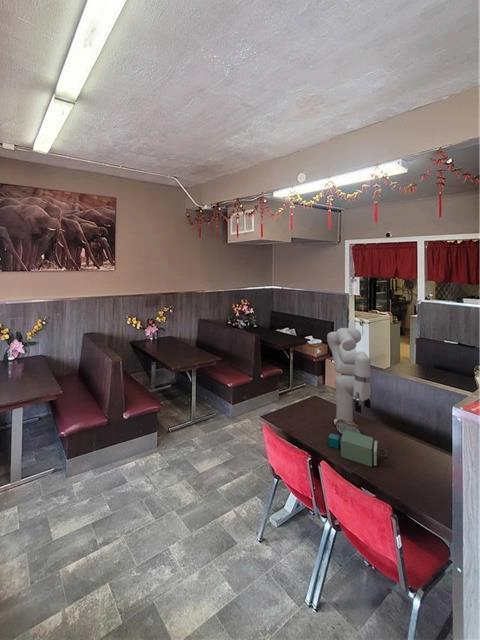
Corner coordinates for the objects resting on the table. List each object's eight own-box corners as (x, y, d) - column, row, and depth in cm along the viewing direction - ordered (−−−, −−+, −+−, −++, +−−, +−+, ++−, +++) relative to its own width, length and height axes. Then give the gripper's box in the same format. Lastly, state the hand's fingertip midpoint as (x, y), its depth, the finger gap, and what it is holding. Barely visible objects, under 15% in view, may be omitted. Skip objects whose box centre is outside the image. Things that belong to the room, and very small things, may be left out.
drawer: (388, 457, 163) (388, 444, 163) (387, 469, 153) (387, 455, 153) (349, 445, 173) (349, 433, 173) (347, 456, 163) (347, 443, 163)
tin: (363, 440, 180) (363, 425, 180) (361, 442, 178) (361, 428, 178) (336, 430, 190) (336, 416, 190) (335, 432, 188) (335, 418, 188)
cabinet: (373, 454, 167) (373, 437, 167) (371, 467, 156) (371, 449, 157) (343, 445, 175) (343, 429, 175) (340, 456, 164) (340, 439, 165)
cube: (330, 441, 178) (330, 433, 178) (339, 444, 176) (339, 435, 176) (328, 445, 174) (328, 437, 174) (338, 448, 171) (338, 440, 171)
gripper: (363, 373, 175) (363, 403, 175) (347, 379, 166) (347, 411, 165) (377, 377, 169) (377, 408, 168) (361, 383, 159) (361, 416, 159)
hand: (362, 409), depth 167 cm, fingers open, 9 cm apart
